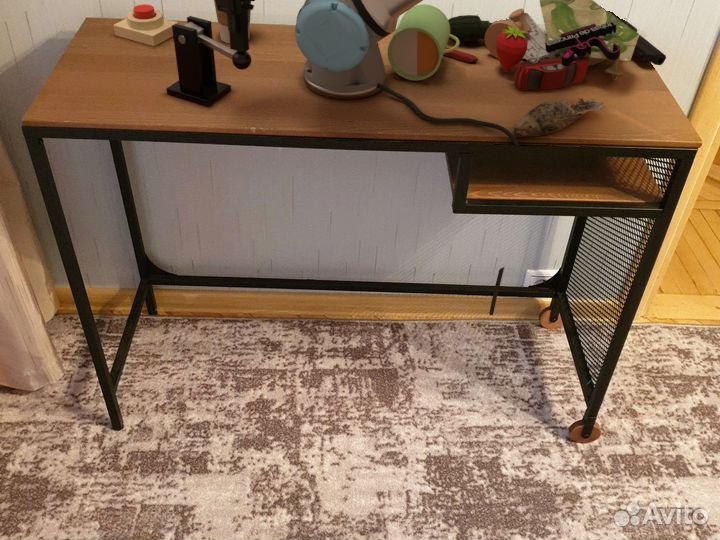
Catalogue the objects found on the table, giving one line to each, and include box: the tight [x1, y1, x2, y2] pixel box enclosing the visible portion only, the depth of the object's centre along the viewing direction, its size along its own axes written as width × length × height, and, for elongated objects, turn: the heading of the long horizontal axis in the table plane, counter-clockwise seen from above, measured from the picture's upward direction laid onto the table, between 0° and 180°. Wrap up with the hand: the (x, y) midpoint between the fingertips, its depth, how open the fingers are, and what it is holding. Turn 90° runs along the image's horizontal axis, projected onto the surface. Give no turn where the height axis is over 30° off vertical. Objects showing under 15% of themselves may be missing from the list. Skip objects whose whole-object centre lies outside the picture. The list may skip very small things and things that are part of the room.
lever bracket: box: [166, 15, 232, 108], centre depth 125 cm, size 9×7×13 cm
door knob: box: [484, 8, 532, 60], centre depth 145 cm, size 8×10×8 cm
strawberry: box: [496, 22, 530, 73], centre depth 138 cm, size 6×8×10 cm
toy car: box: [513, 56, 589, 91], centre depth 137 cm, size 6×15×5 cm
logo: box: [546, 21, 620, 66], centre depth 134 cm, size 13×2×10 cm
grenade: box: [448, 14, 493, 45], centre depth 149 cm, size 6×6×12 cm
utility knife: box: [443, 46, 479, 63], centre depth 146 cm, size 12×1×2 cm
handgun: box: [608, 11, 667, 66], centre depth 156 cm, size 4×29×15 cm
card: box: [538, 0, 640, 62], centre depth 142 cm, size 22×25×1 cm
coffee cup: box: [213, 0, 252, 44], centre depth 143 cm, size 8×8×15 cm
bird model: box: [512, 98, 606, 138], centre depth 125 cm, size 21×6×5 cm, turn 126°
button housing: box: [112, 8, 179, 47], centre depth 146 cm, size 10×8×4 cm
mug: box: [387, 3, 461, 81], centre depth 137 cm, size 13×10×12 cm
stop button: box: [132, 3, 155, 19], centre depth 145 cm, size 4×4×2 cm
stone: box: [492, 12, 562, 61], centre depth 151 cm, size 22×3×10 cm
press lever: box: [183, 22, 252, 71], centre depth 122 cm, size 13×3×3 cm, turn 63°
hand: (239, 48), depth 120 cm, fingers closed
